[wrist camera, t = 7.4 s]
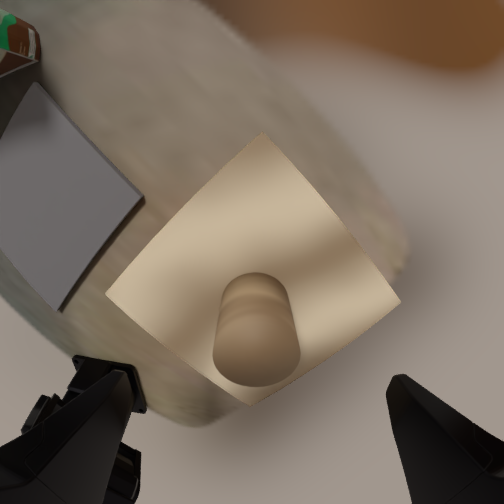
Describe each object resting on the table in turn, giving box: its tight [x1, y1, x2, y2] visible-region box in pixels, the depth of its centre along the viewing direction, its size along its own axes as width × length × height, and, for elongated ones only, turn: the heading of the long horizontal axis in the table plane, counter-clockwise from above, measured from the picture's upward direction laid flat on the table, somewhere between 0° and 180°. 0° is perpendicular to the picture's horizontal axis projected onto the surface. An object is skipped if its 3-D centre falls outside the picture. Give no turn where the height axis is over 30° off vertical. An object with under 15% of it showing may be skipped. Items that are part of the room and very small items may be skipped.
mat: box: [0, 82, 144, 312], centre depth 17 cm, size 13×13×1 cm
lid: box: [105, 132, 401, 407], centre depth 13 cm, size 11×11×5 cm
